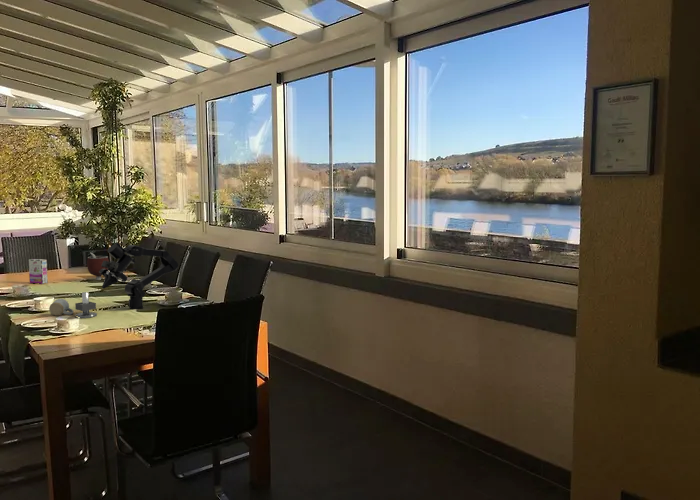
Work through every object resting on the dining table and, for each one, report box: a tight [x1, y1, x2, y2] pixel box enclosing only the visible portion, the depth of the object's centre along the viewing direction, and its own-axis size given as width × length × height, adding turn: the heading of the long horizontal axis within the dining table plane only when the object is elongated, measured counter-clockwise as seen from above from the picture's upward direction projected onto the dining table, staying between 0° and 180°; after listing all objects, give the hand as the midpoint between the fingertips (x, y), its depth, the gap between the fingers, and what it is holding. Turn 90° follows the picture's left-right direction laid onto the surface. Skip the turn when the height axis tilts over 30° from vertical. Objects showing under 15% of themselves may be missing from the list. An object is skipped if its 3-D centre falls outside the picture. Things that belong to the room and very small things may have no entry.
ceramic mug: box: [48, 298, 74, 317], centre depth 305 cm, size 11×8×8 cm
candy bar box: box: [28, 258, 49, 285], centre depth 405 cm, size 11×5×16 cm, turn 73°
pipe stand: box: [74, 291, 98, 319], centre depth 301 cm, size 10×10×12 cm
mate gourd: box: [86, 252, 110, 280], centre depth 415 cm, size 16×14×20 cm
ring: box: [74, 301, 97, 312], centre depth 301 cm, size 7×7×3 cm
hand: (102, 288), depth 307 cm, fingers closed
